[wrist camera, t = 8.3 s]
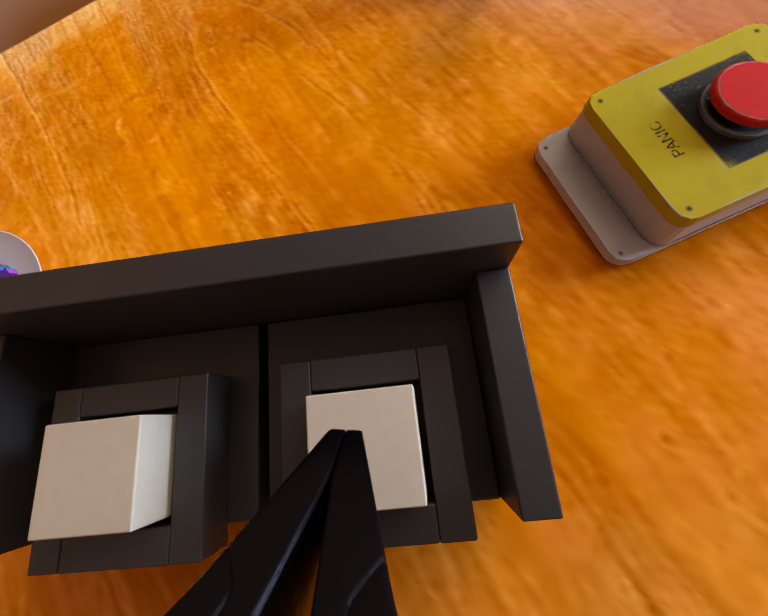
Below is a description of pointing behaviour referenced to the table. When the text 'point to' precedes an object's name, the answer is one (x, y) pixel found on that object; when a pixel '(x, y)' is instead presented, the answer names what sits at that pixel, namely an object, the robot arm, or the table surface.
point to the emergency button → (668, 148)
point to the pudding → (16, 256)
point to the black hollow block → (274, 304)
